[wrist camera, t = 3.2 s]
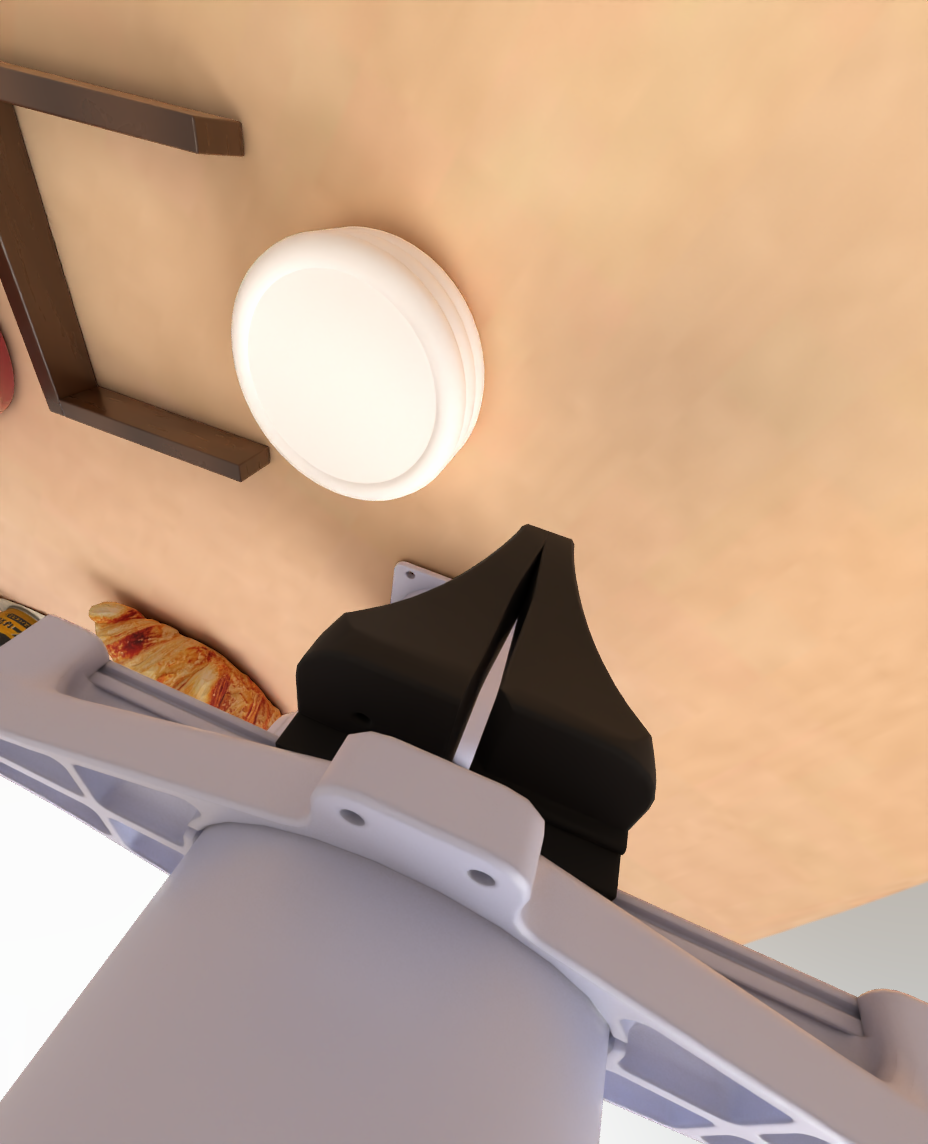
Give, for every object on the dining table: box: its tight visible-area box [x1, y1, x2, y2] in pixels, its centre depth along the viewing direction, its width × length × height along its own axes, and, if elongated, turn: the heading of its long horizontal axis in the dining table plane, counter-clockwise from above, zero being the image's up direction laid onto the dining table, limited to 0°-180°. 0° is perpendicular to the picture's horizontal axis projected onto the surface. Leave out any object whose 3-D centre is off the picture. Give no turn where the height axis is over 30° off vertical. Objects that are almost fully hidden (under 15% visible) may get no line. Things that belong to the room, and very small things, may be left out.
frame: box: [0, 61, 270, 482], centre depth 23 cm, size 12×14×2 cm
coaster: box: [231, 226, 484, 501], centre depth 21 cm, size 10×10×4 cm
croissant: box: [89, 602, 282, 731], centre depth 41 cm, size 21×10×8 cm, turn 50°
